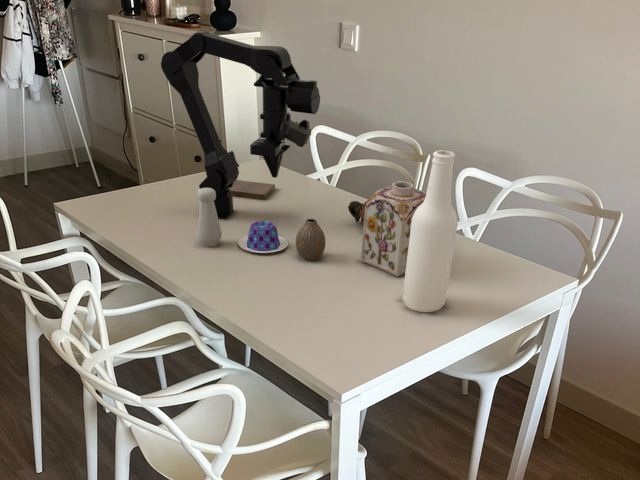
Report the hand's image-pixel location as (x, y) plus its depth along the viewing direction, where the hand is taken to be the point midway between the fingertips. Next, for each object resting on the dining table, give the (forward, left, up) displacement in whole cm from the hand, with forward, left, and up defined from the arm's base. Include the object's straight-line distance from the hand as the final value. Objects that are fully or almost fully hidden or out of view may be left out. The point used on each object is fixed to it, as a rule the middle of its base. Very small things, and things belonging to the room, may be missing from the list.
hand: (274, 177), depth 165 cm
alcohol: (+43, -34, -12) cm, 56 cm away
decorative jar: (+34, -15, -12) cm, 39 cm away
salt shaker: (-11, -18, -12) cm, 24 cm away
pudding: (+2, -15, -12) cm, 19 cm away
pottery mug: (+24, +6, -12) cm, 27 cm away
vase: (+14, -18, -12) cm, 26 cm away
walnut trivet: (-14, +22, -12) cm, 29 cm away
